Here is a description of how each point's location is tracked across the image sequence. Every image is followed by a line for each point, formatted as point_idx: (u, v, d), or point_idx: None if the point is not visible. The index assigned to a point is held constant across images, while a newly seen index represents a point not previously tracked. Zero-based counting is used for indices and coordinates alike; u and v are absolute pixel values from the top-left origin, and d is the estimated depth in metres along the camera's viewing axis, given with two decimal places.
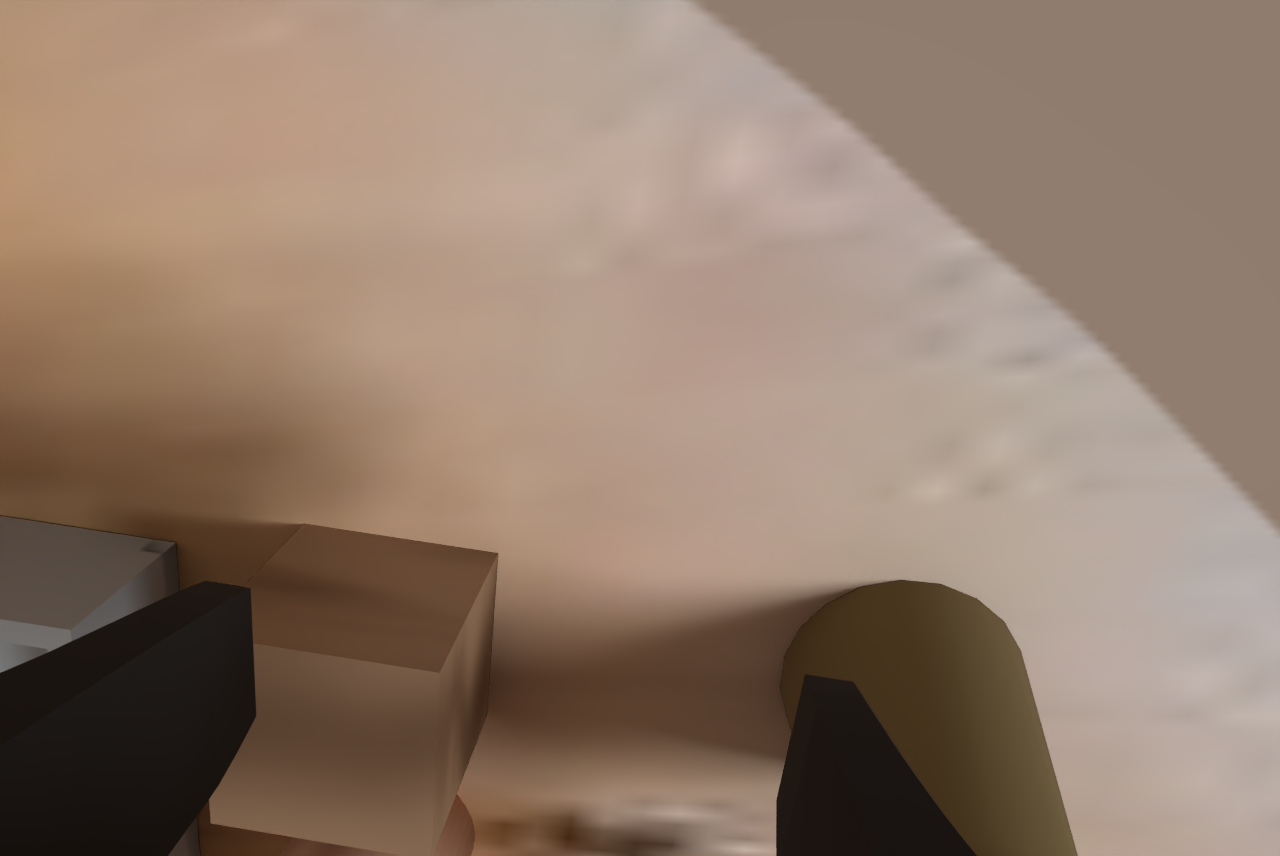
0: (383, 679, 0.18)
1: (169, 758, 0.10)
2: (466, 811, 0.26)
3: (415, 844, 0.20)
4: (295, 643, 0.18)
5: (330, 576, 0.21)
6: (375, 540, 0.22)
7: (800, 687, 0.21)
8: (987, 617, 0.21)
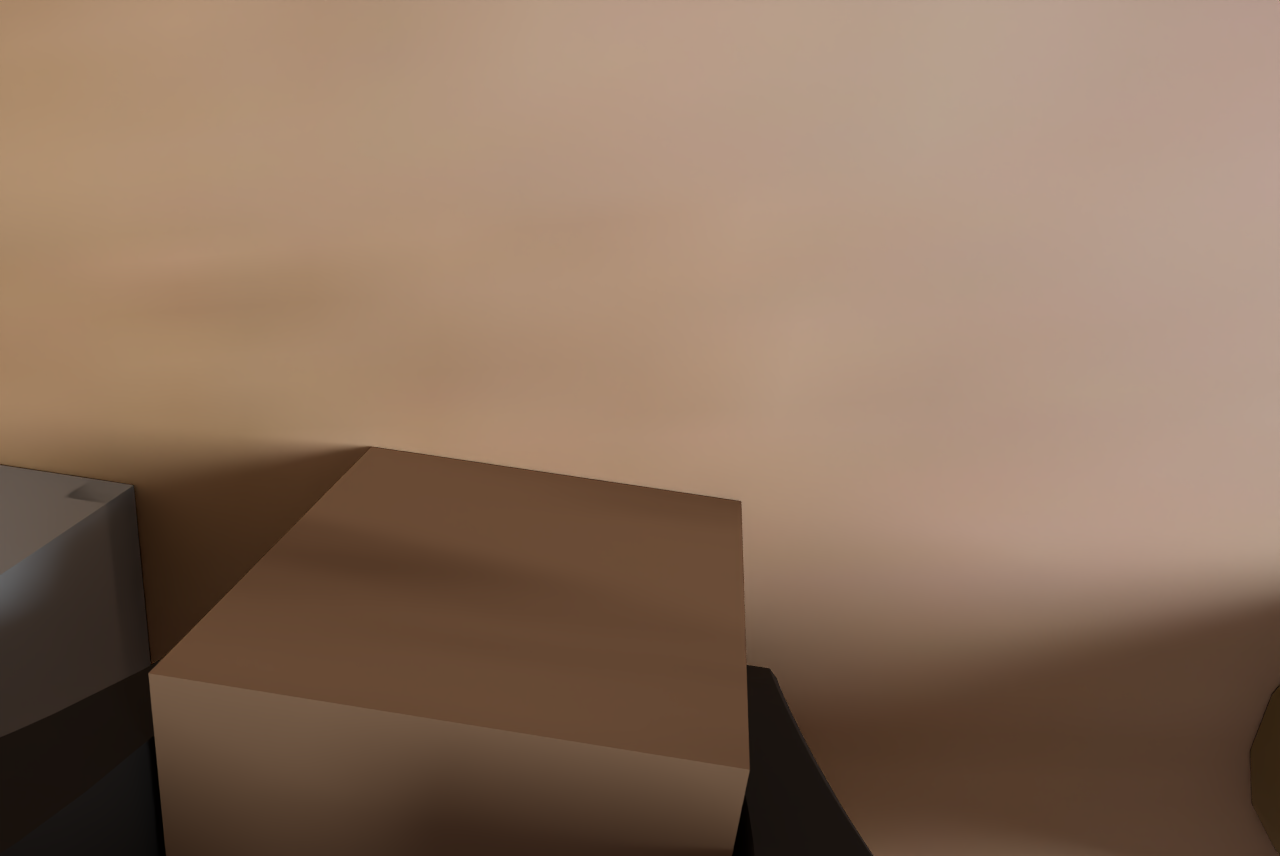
0: (606, 784, 0.07)
1: None
2: None
3: None
4: (388, 695, 0.08)
5: (437, 544, 0.10)
6: (508, 479, 0.12)
7: None
8: None
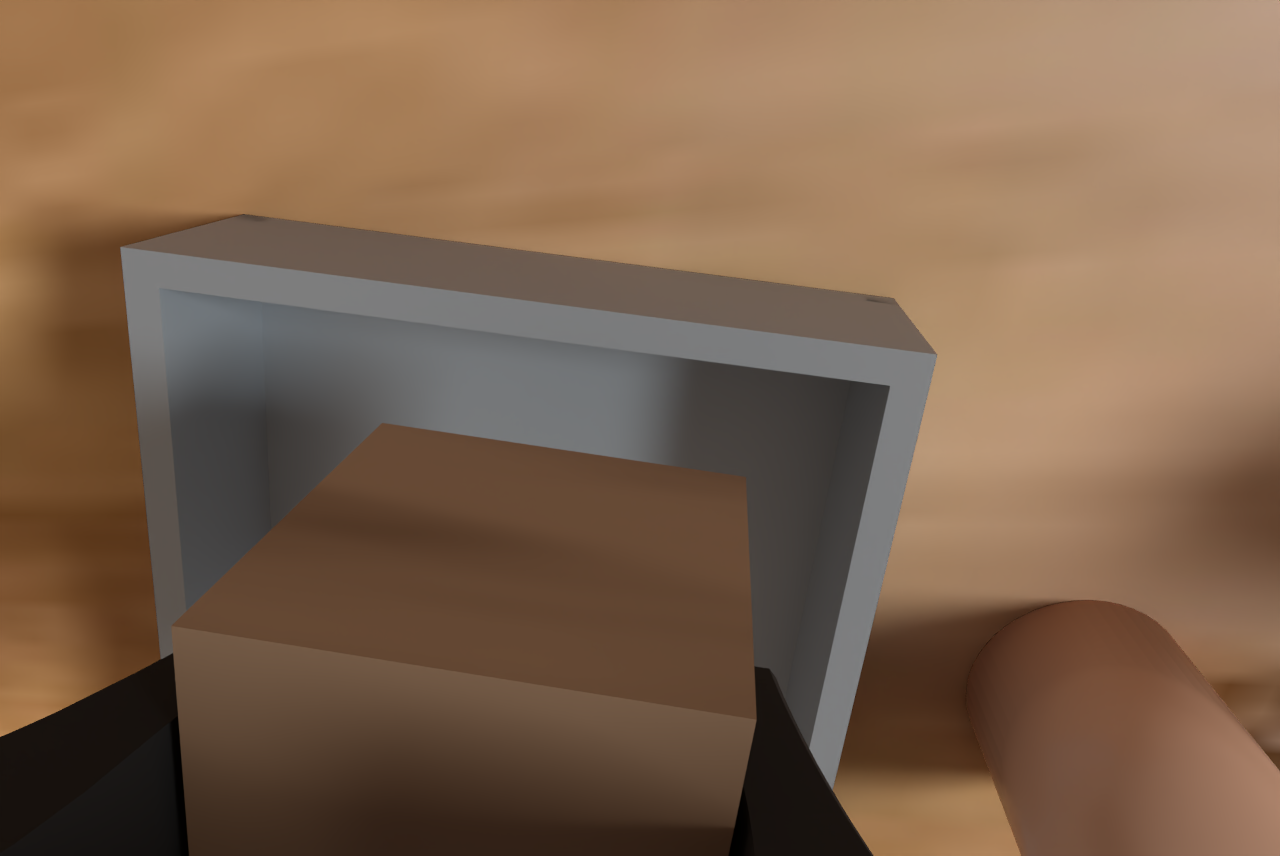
0: (616, 735, 0.08)
1: None
2: None
3: None
4: (403, 647, 0.08)
5: (449, 511, 0.10)
6: (517, 453, 0.12)
7: None
8: None
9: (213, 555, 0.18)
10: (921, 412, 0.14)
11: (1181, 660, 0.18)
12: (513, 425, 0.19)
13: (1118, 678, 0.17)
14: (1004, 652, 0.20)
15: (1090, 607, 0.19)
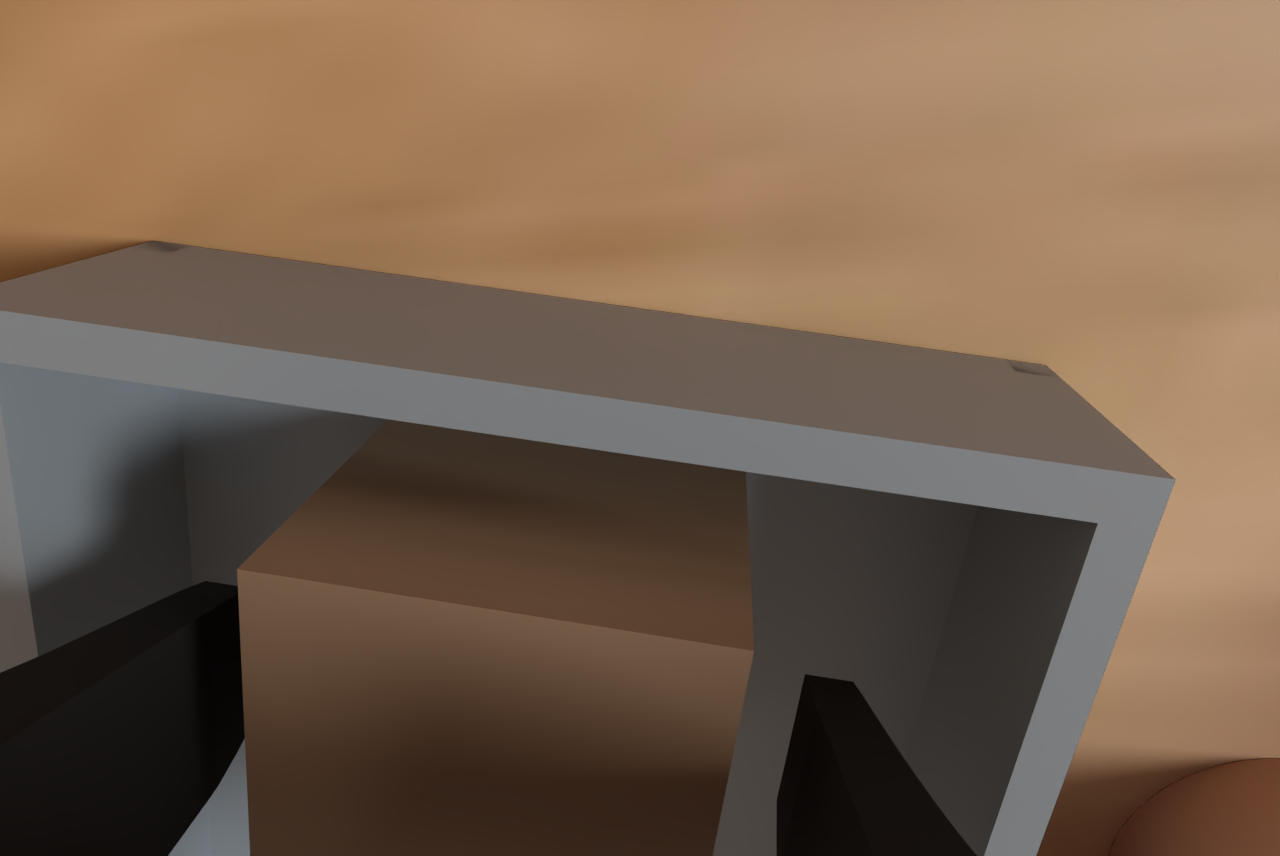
0: (630, 665, 0.09)
1: (169, 758, 0.10)
2: None
3: None
4: (442, 590, 0.09)
5: (475, 477, 0.11)
6: None
7: None
8: None
9: None
10: (1139, 561, 0.10)
11: None
12: None
13: None
14: (1169, 828, 0.15)
15: None
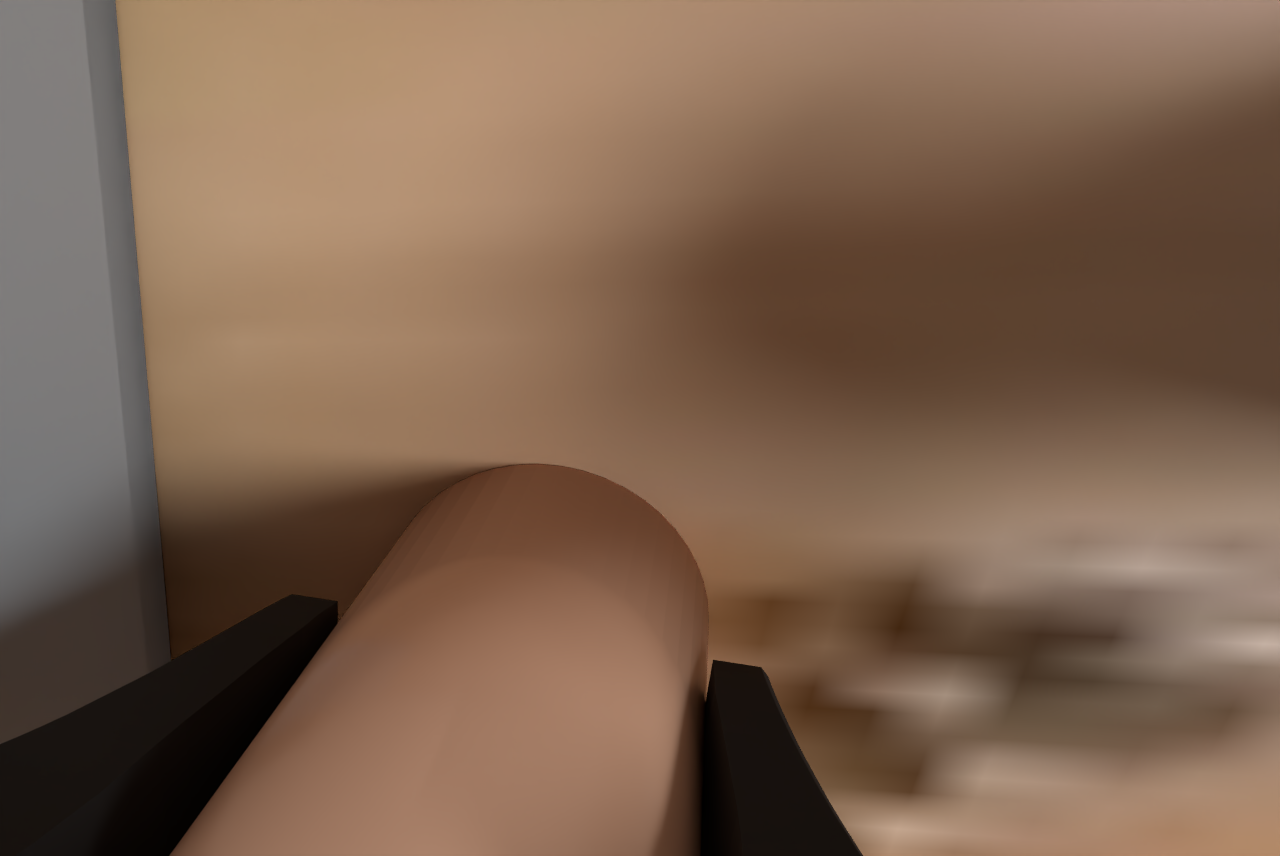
0: None
1: None
2: (699, 573, 0.13)
3: None
4: None
5: None
6: None
7: None
8: None
9: None
10: None
11: (609, 545, 0.11)
12: None
13: (449, 562, 0.10)
14: (395, 543, 0.12)
15: (526, 472, 0.12)
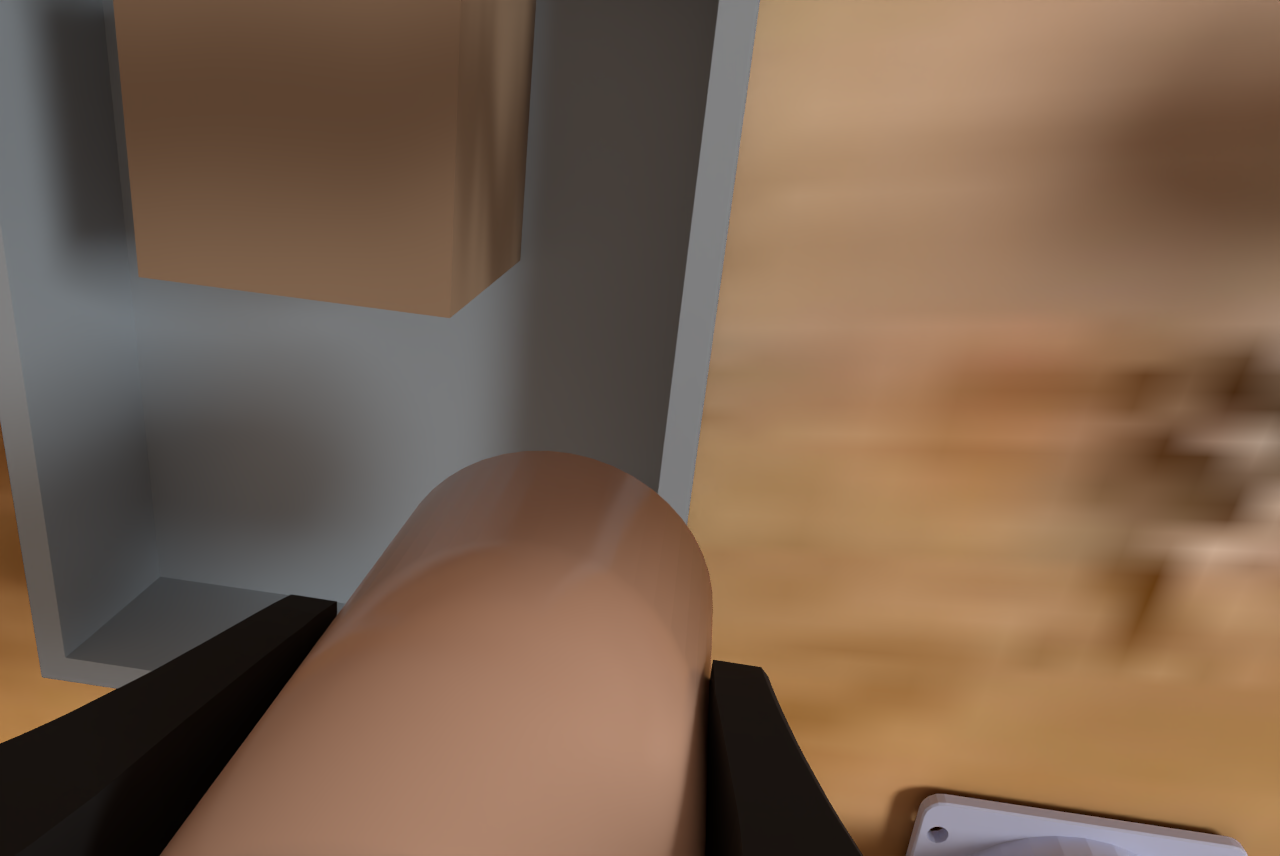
0: None
1: None
2: (705, 564, 0.13)
3: (428, 289, 0.14)
4: None
5: None
6: None
7: None
8: None
9: (40, 199, 0.17)
10: None
11: (619, 531, 0.11)
12: None
13: (460, 545, 0.10)
14: None
15: (535, 458, 0.12)
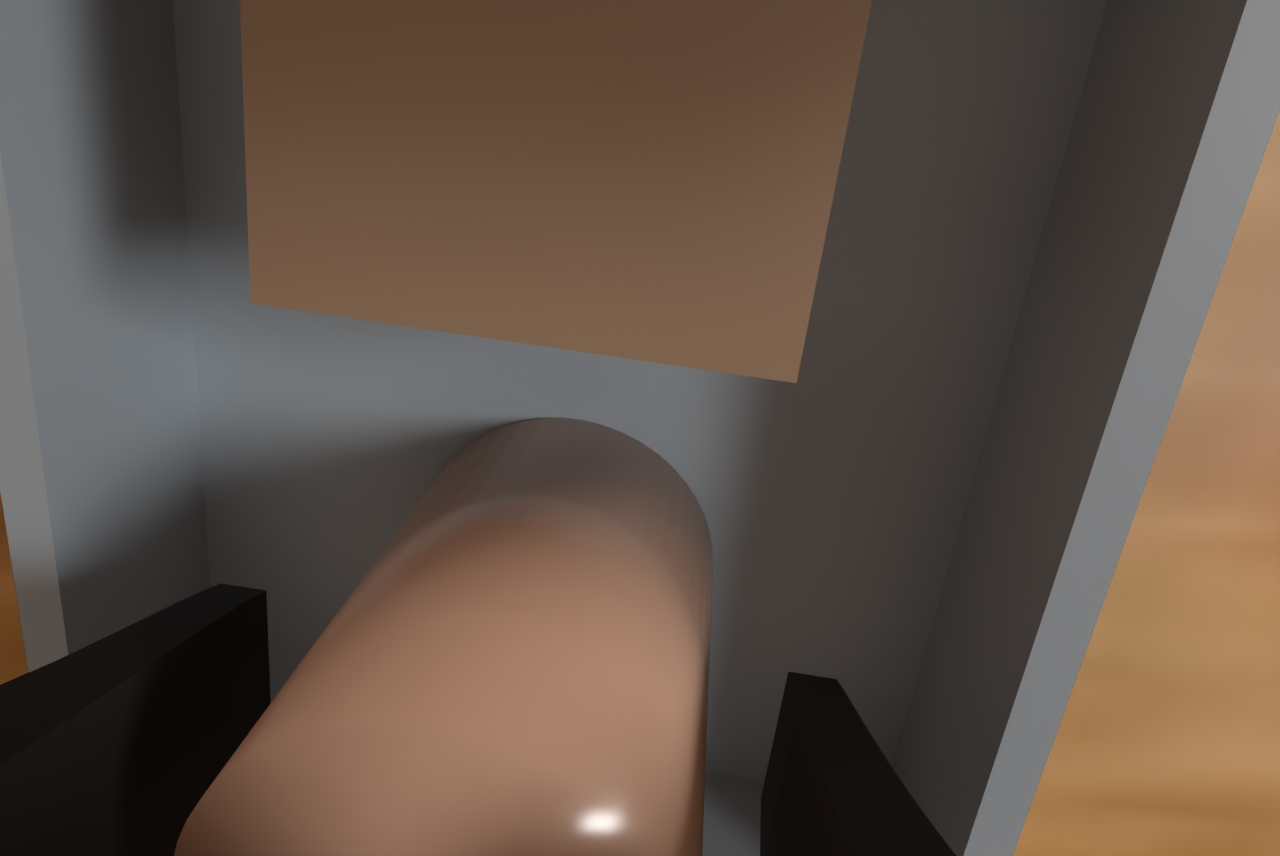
0: None
1: (187, 761, 0.10)
2: (706, 523, 0.14)
3: (764, 333, 0.08)
4: None
5: None
6: None
7: None
8: None
9: (70, 172, 0.11)
10: None
11: (629, 489, 0.12)
12: None
13: (487, 497, 0.11)
14: None
15: (552, 424, 0.13)
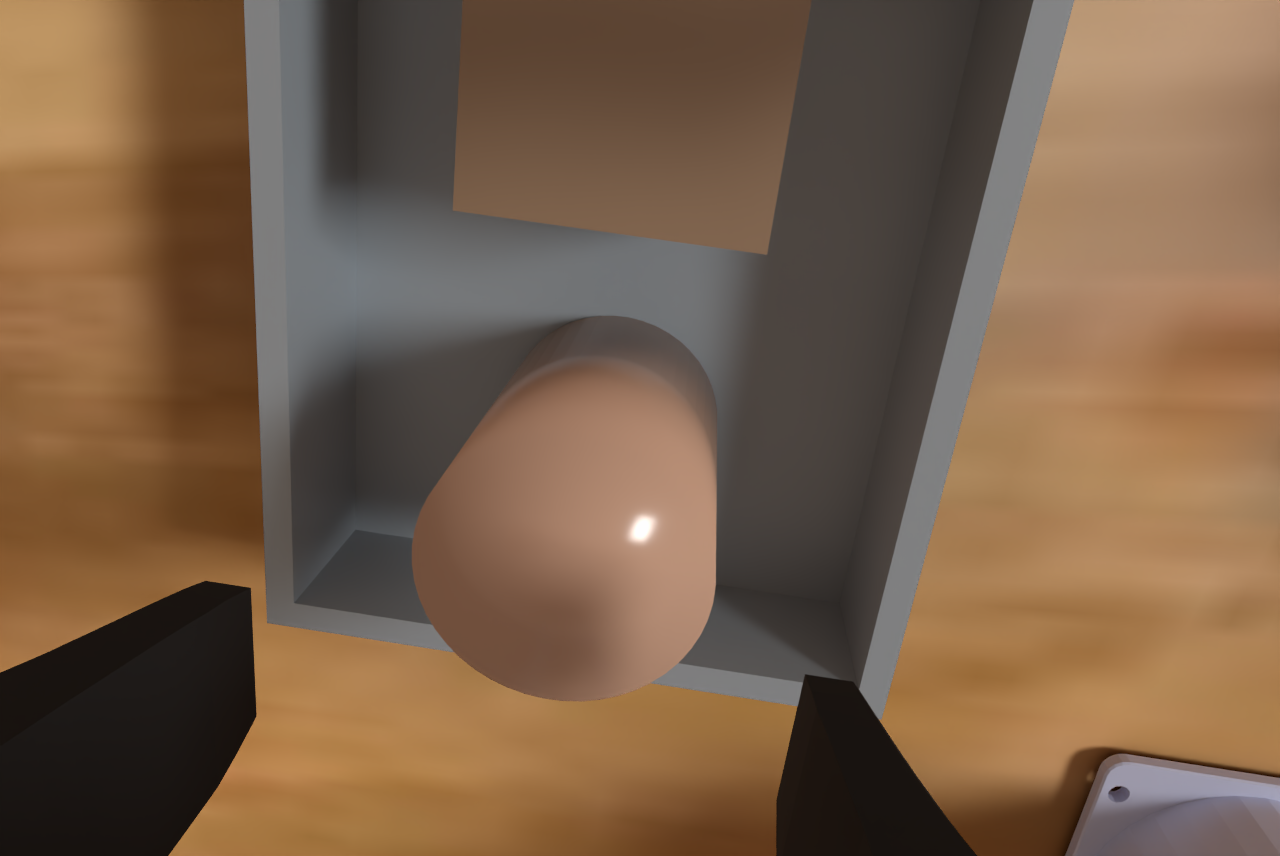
0: None
1: (169, 758, 0.10)
2: None
3: (748, 225, 0.14)
4: None
5: None
6: None
7: None
8: None
9: (308, 140, 0.17)
10: None
11: (663, 354, 0.18)
12: None
13: (573, 352, 0.17)
14: None
15: (607, 319, 0.19)
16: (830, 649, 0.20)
